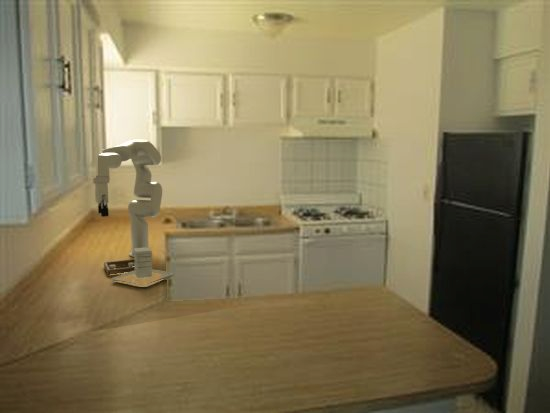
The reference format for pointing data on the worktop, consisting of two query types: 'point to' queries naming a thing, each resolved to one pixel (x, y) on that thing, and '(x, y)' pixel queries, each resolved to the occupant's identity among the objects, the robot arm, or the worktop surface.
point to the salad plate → (166, 274)
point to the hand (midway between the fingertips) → (103, 214)
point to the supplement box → (143, 262)
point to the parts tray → (118, 263)
